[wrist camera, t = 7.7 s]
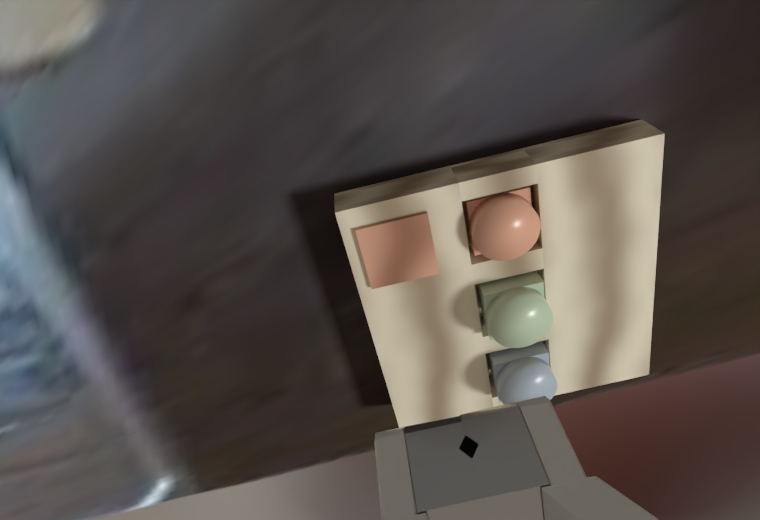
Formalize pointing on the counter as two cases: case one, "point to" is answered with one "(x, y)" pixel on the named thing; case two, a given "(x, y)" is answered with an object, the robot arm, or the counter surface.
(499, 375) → the slate button
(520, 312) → the sage button
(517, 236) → the terracotta button
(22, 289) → the counter surface
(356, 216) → the button panel
